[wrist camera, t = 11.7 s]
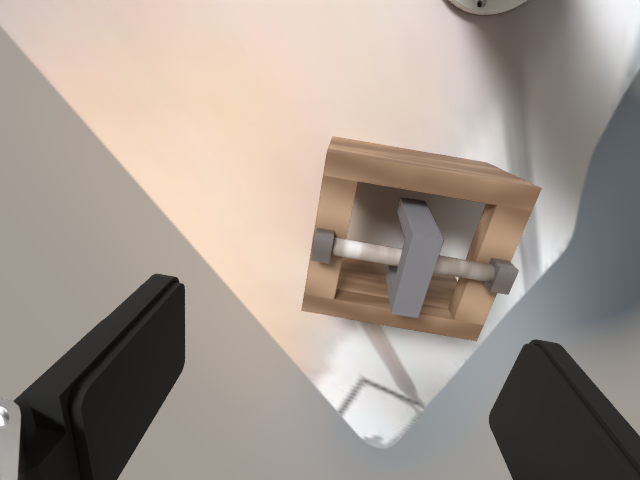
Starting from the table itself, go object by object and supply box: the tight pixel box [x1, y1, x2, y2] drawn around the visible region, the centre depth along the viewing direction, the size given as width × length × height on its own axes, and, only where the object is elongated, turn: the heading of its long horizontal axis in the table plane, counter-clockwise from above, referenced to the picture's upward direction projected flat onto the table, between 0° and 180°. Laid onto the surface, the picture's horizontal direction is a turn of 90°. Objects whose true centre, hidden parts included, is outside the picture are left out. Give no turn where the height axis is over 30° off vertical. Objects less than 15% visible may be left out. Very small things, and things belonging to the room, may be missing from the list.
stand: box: [302, 137, 541, 341], centre depth 36 cm, size 16×18×14 cm
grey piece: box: [384, 198, 444, 318], centre depth 32 cm, size 8×2×8 cm, turn 173°
